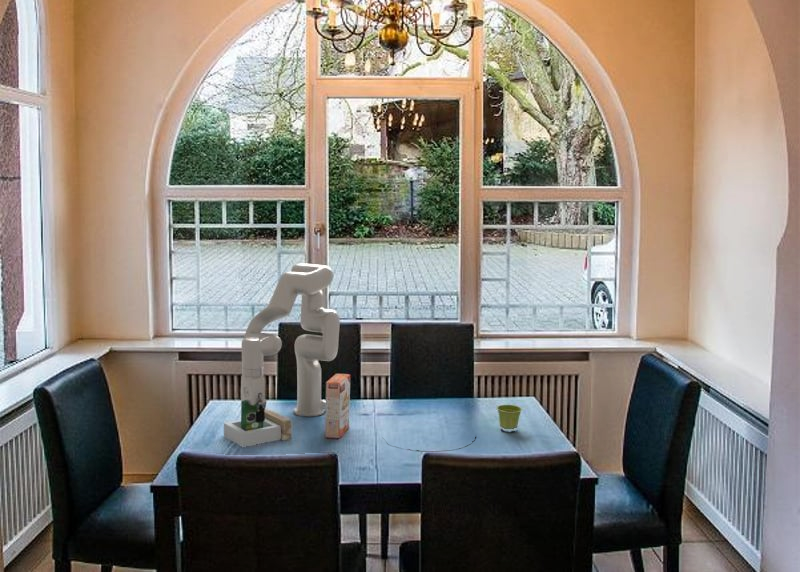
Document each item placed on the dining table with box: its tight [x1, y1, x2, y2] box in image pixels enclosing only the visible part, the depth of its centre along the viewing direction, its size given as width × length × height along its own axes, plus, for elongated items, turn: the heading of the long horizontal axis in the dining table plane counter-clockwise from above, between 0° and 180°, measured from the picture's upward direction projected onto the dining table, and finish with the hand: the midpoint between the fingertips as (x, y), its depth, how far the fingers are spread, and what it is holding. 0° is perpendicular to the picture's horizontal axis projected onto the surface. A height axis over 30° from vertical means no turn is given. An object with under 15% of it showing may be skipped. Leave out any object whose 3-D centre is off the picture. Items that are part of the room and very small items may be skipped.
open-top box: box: [223, 418, 282, 448], centre depth 292 cm, size 15×15×5 cm
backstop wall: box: [265, 407, 292, 441], centre depth 298 cm, size 3×18×7 cm, turn 38°
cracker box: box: [324, 373, 351, 439], centre depth 298 cm, size 14×6×21 cm, turn 168°
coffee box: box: [240, 400, 263, 431], centre depth 292 cm, size 8×3×13 cm, turn 128°
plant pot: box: [496, 404, 523, 429], centre depth 305 cm, size 9×9×9 cm
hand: (253, 418), depth 292 cm, fingers open, 9 cm apart
